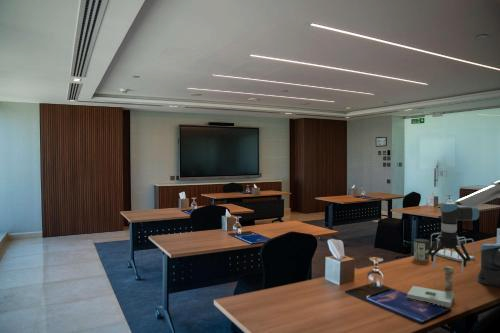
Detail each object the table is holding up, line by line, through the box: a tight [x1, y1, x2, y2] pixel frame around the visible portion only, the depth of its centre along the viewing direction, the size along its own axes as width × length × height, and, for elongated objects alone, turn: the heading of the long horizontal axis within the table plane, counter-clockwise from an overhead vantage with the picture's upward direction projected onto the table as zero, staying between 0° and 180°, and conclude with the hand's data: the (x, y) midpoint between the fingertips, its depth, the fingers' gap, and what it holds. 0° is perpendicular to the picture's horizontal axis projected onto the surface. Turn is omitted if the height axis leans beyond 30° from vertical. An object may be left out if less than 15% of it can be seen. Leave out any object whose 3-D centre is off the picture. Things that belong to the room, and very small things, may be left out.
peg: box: [443, 265, 454, 293], centre depth 194 cm, size 5×5×14 cm
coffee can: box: [413, 238, 430, 262], centre depth 261 cm, size 10×10×14 cm
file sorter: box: [430, 232, 476, 262], centre depth 269 cm, size 25×17×16 cm
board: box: [406, 285, 455, 308], centre depth 188 cm, size 20×15×2 cm
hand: (448, 270), depth 194 cm, fingers open, 13 cm apart
